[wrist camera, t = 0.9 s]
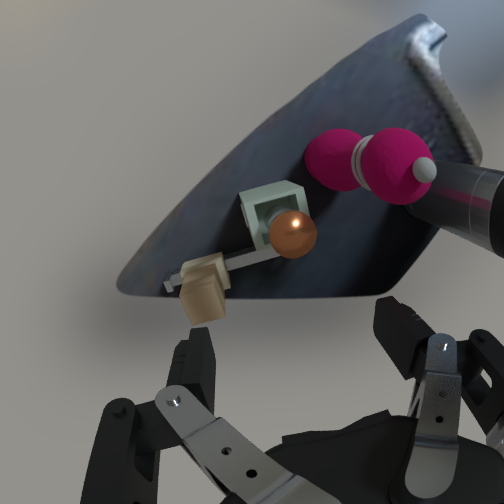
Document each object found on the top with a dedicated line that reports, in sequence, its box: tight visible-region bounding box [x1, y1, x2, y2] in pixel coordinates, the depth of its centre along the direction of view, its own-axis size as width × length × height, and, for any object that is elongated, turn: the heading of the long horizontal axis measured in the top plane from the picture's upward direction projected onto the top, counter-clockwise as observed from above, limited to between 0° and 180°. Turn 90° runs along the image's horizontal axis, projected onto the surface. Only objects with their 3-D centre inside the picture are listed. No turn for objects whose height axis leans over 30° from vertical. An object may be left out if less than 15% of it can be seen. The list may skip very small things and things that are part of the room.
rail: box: [163, 246, 281, 293], centre depth 35 cm, size 18×2×4 cm, turn 105°
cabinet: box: [239, 180, 310, 251], centre depth 31 cm, size 6×5×8 cm
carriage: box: [179, 252, 231, 325], centre depth 31 cm, size 5×4×10 cm
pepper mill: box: [304, 128, 437, 205], centre depth 24 cm, size 7×7×20 cm
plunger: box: [264, 204, 317, 258], centre depth 25 cm, size 4×4×6 cm
